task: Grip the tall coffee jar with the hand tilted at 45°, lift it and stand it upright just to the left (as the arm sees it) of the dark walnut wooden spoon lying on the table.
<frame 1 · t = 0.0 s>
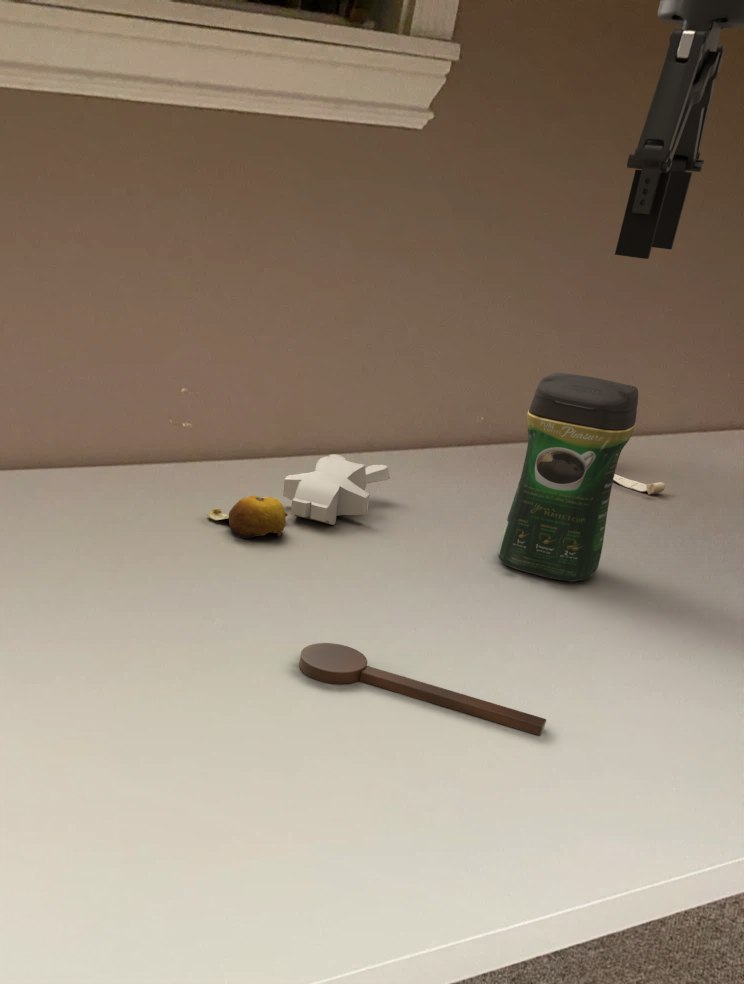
hand: (644, 252, 99), 29 cm above the table, tool pointing down, fingers open, 13 cm apart
fruit: (255, 527, 114), on the table
toy measuring tape: (593, 474, 143), on the table
spoon: (411, 692, 83), on the table
coffee jar: (544, 569, 110), on the table
white toy figure: (332, 510, 121), on the table
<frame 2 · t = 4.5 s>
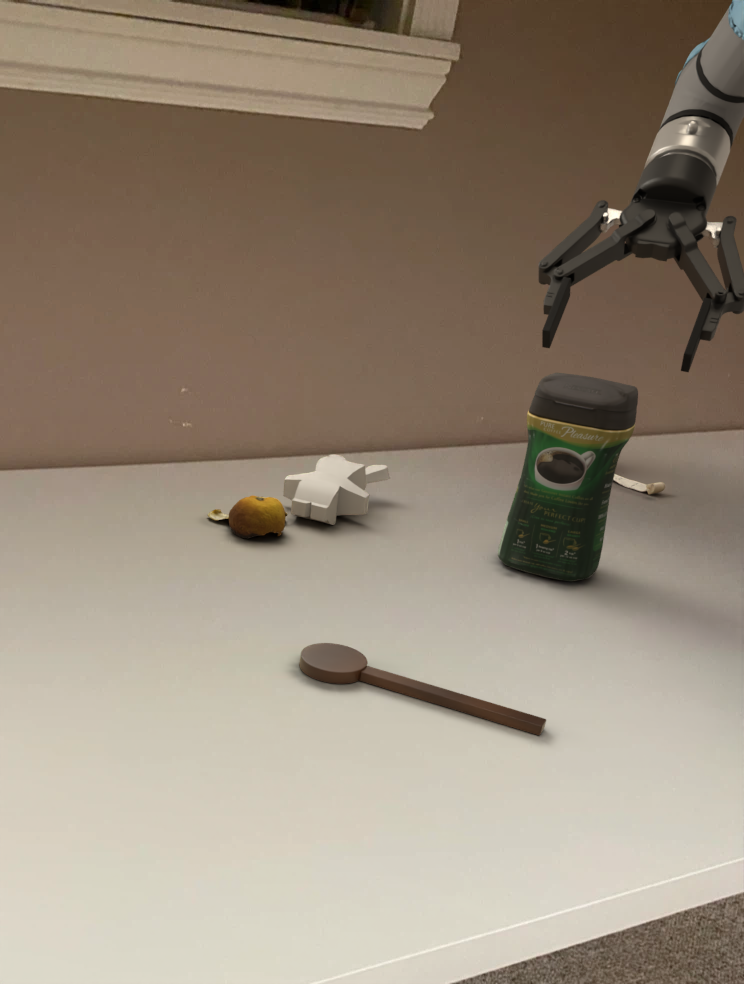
hand: (614, 351, 109), 20 cm above the table, tool tilted 45°, fingers open, 13 cm apart
nothing on the table moved.
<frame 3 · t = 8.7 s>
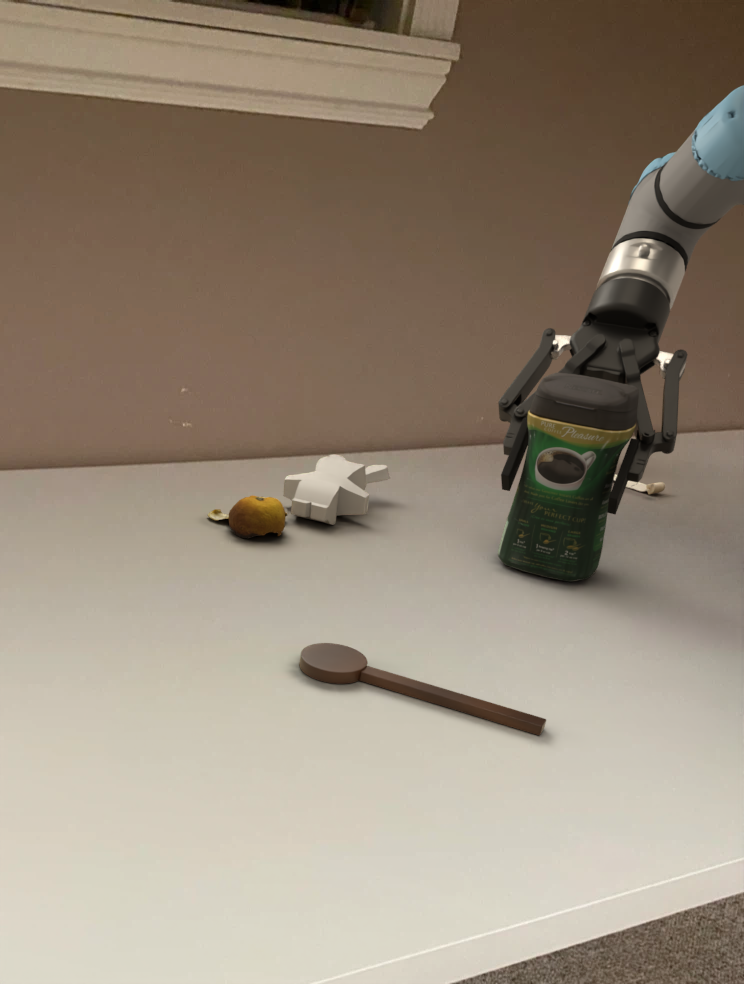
hand: (557, 494, 104), 8 cm above the table, tool tilted 45°, fingers closed on coffee jar, 9 cm apart
coffee jar: (544, 568, 110), on the table, touching gripper
everything else where it was.
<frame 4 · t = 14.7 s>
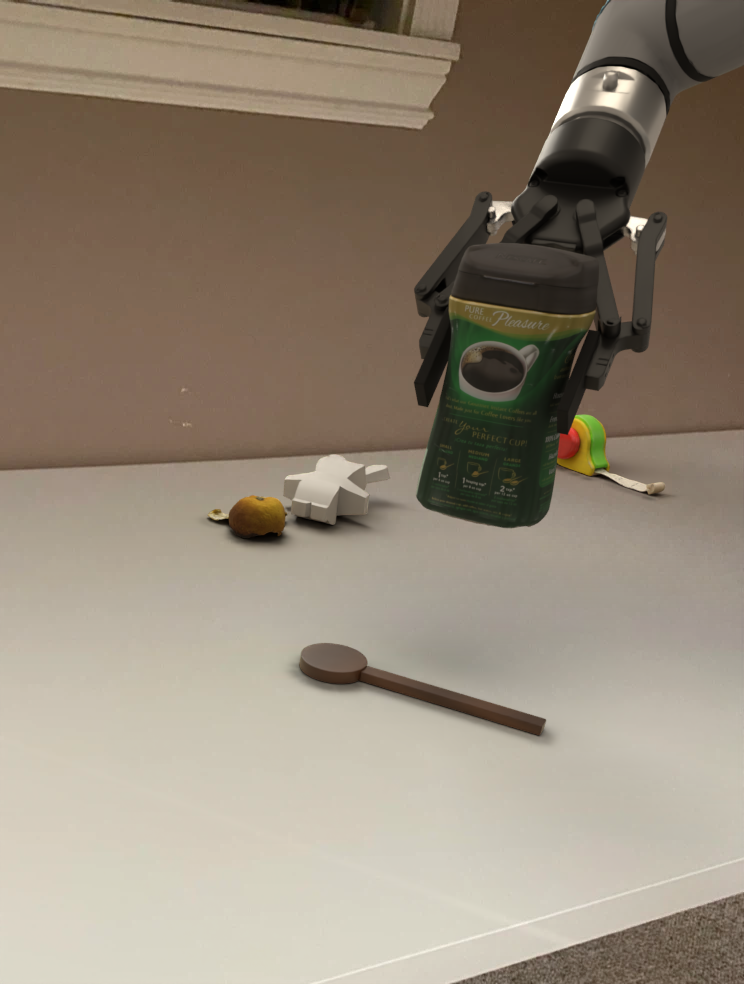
hand: (489, 408, 76), 21 cm above the table, tool tilted 45°, fingers closed on coffee jar, 9 cm apart
coffee jar: (478, 514, 83), point 12 cm above the table, touching gripper
everything else where it was.
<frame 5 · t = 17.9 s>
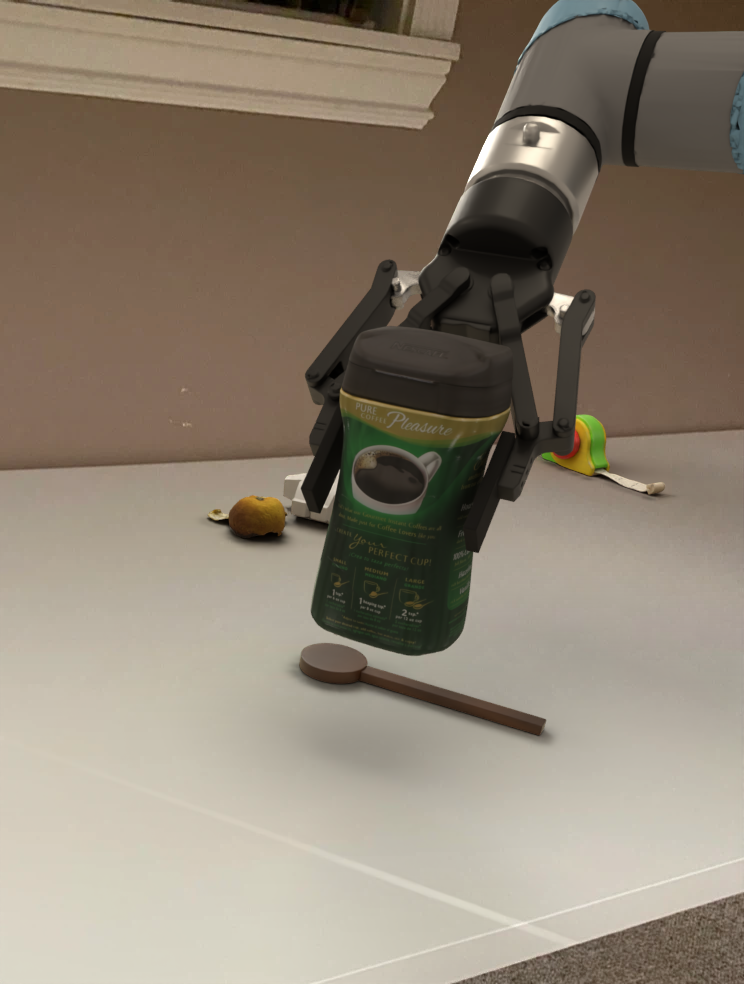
hand: (388, 520, 65), 17 cm above the table, tool tilted 45°, fingers closed on coffee jar, 9 cm apart
coffee jar: (383, 632, 71), point 9 cm above the table, touching gripper
everything else where it was.
when the fingers open (8 cm above the table, at t = 20.8 s): coffee jar stays where it is, on the table.
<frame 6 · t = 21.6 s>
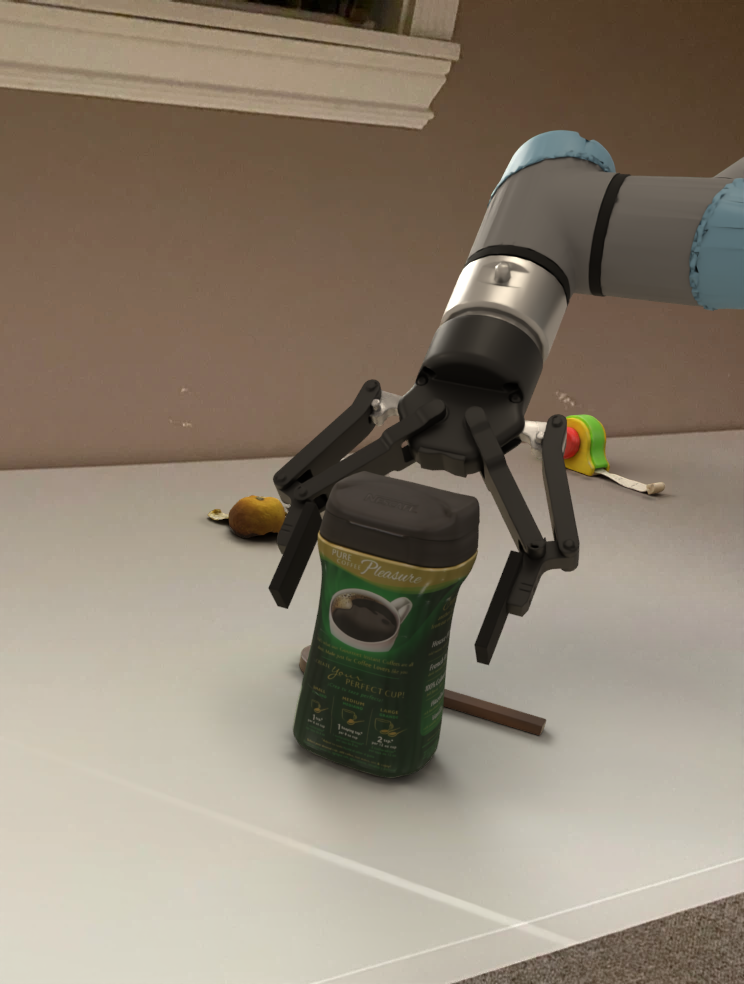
hand: (375, 626, 69), 10 cm above the table, tool tilted 45°, fingers open, 13 cm apart
coffee jar: (361, 749, 76), on the table
everything else where it was.
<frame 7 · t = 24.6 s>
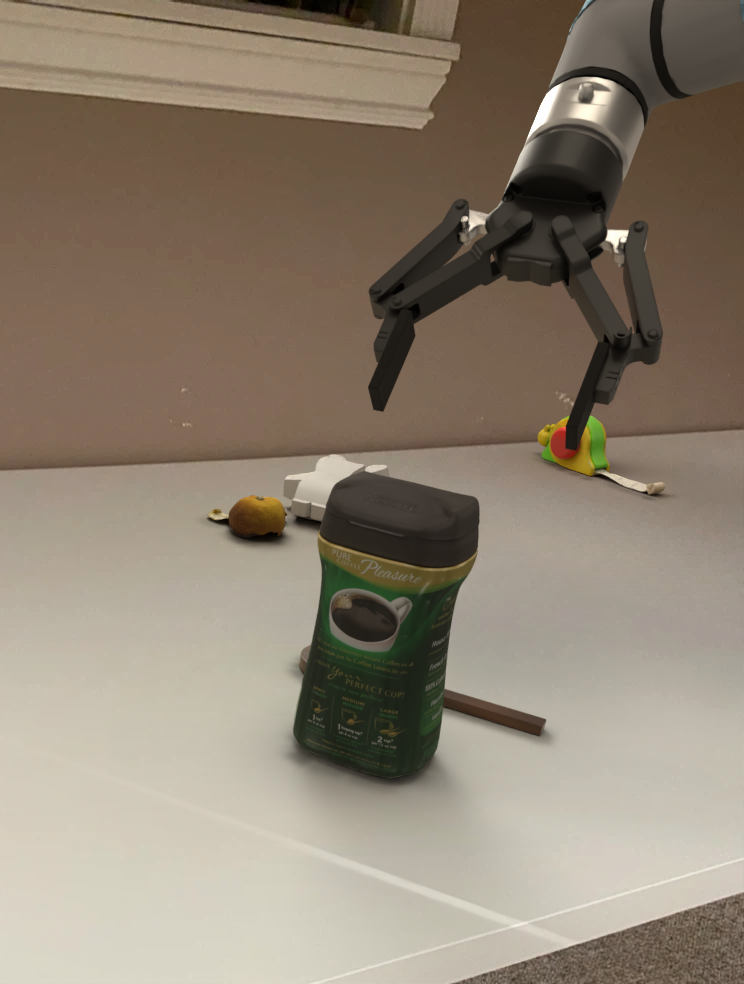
hand: (469, 419, 74), 21 cm above the table, tool tilted 45°, fingers open, 13 cm apart
nothing on the table moved.
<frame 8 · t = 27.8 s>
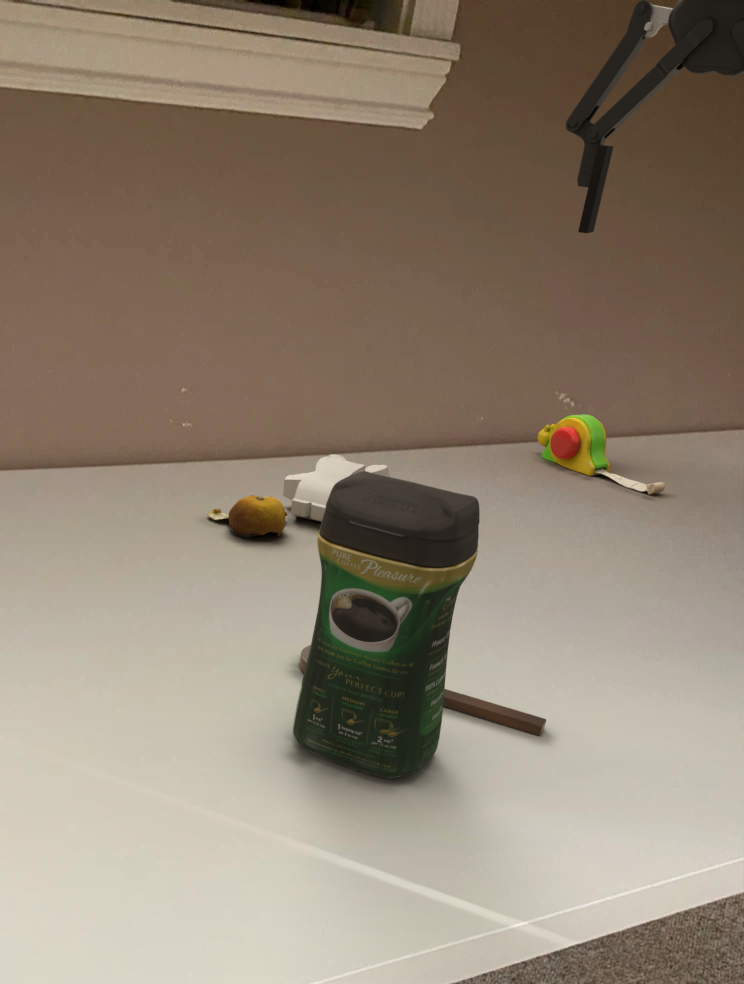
hand: (669, 243, 90), 31 cm above the table, tool pointing down, fingers open, 13 cm apart
nothing on the table moved.
at the end: coffee jar inside the target area on the table beside the spoon (0.5 cm from its centre), on the table; coffee jar tilted 0°; the gripper is holding nothing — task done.
